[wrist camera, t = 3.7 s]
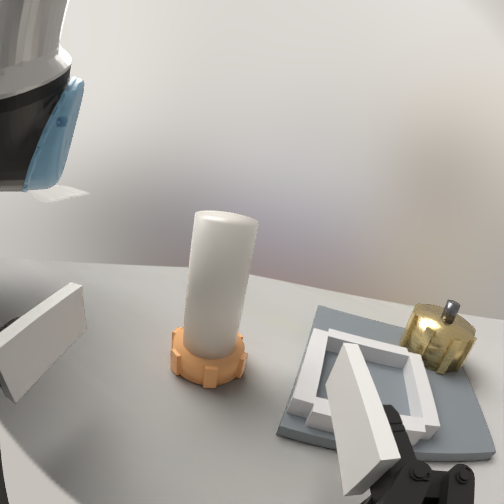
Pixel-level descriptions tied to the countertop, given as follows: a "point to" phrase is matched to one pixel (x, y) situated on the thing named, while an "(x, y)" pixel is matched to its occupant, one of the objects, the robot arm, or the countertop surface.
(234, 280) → the white cylinder orange base
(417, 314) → the sun gear
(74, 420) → the countertop surface
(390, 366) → the carrier plate
